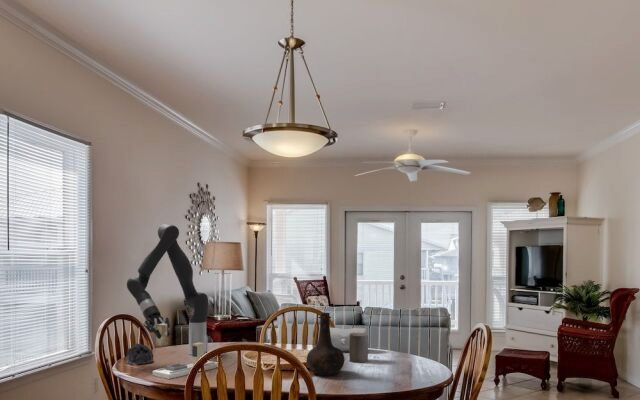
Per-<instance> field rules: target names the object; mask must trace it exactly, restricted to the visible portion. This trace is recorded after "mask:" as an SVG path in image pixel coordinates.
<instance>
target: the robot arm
mask: <svg viewBox="0 0 640 400" xmlns="http://www.w3.org/2000/svg"><path fill="white" fill-rule="evenodd" d="M179 235H180V230H179V228H178V227H177V226H176V225H174V224H169V223H163V224H161V225H160V226H159V227H158V229H157V236H158V238H159V241H158V243H156V245H155V247H154V248H153V249H152V250H151V251H150V252H149V253H148V254H147V255H146V257H145V258H144V259H143V261H142V262H141V264H140V266H139V267H138V269H137V273H138V274H139V275H138V277H136V276H132V277H130V278H128V279H127V281H126V288H127V290H128V291H129V293H130V295H132V297H133V298H134V299H135V301H136V303H137V305H138V307H139V310H140V311H141V314H142V315H143V316H144V319H145V321H144V323H143V325H142V326H144V328H145V329H146V330H147V331H148V332H149V333H153V334H154V335H155V338H156V337H157V338H158V339H160V338H161V334H160V332H159V330H158V328H157V324H162V323H164V324H167V326H168V336H167V338H169V337H170V336H171V331H170V330H169V329H170V327H171V325H170V324H171V323H170V320H169V317H165V318H164V317H163V316H162V315H161V311H160V310H159V308H158V306H157V304H156V303H155V301H154V299H153V298H152V296H151V295H150V293H149V292H148V291H147V289H146V288H147V286H148V284H149V281H150V278H151V275H152V274H153V272H154V271H155V269H156V267H157V266H158V264H159V262H160V261H161V259H162V258H163V257H164V255H166V253H167V256H168V259H169V260H170V264H171V265H172V269H173V271H174V273H175V276H176V278H177V280H178V282H179V285H180V287H181V289H182V292H183V296H184V299H185V302H186V305H187V306H188V307H189V309H193V314H192V315H191V316H189V318H188V319H189V320H188V322H189V323H188V324H189V325H188V354H189V355H191V356H192V346H193V343H198V342H200V343H204V355H206V354H207V353H208V345H209V343H208V339H209V337H208V334H207V318H208V315H209V297H208V295H207V294H206V293H204V292H198V291H197V290H196V288H195V285H194V281H193V278H194V269H193V267H192V264H191V261H190V260H189V257H188V255H186V253H185V252H184V251H183V249H182V248H181V246H180V245H179V242H178V240H177V239H178V238H179ZM206 352H207V353H206Z"/></svg>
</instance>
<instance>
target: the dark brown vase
mask: <svg viewBox="0 0 640 400" xmlns="http://www.w3.org/2000/svg"><path fill="white" fill-rule="evenodd" d="M330 314H331V313H330V312H320V313H319V315H320V316H318V317H317V318H318V319H320V320H319V331H318V332H319V333H318V340H317V343H316V345H315V346H314V347H313V348H312V349H311V350H309V352H308V353H307V356H306V364H307V367H308V368H309V370H310V371H311V372H312V373H314V374H316V375H318V376H333V375H335V374H338V373H339V372H340V371H341V370H342V369H343V367H344V364H345V355H344V352H342V351H341V350H340V349H338V348H336V347H334V346H333V345H332V342H331V335H330V328H331V327H330V326H331V325H330V319H331V318H332V316H330Z"/></svg>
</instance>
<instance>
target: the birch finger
mask: <svg viewBox="0 0 640 400" xmlns="http://www.w3.org/2000/svg"><path fill="white" fill-rule="evenodd" d="M157 328H158V330H159V332H160V334H161V338H160V339H158V338H157V337H156V336H155V346H158V347H159V346H160V347H162V346H167V345H168V337H167V336H168V330H169V329H168V326H167V324H164V323H162V324H157Z"/></svg>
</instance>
